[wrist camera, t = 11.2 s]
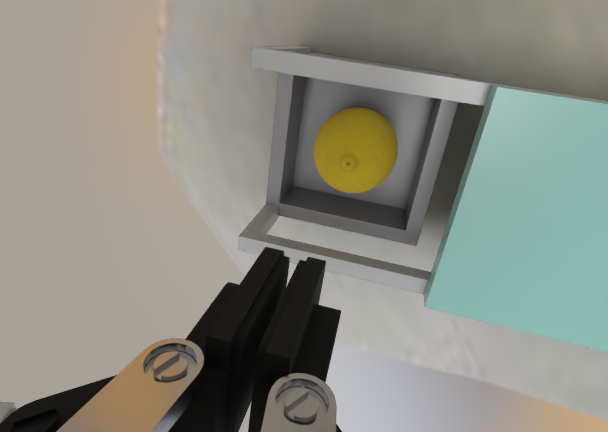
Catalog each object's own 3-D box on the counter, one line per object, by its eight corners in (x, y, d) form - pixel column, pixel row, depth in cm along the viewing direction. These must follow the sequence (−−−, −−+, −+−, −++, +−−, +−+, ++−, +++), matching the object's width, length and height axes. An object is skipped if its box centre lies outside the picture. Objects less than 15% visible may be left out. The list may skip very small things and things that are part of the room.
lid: (491, 84, 18) (507, 91, 15) (792, 131, 16) (870, 148, 14) (423, 295, 23) (426, 328, 20) (646, 348, 21) (681, 392, 19)
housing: (298, 45, 29) (251, 46, 20) (652, 99, 25) (789, 130, 16) (281, 195, 34) (237, 249, 25) (573, 257, 30) (644, 347, 21)
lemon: (352, 188, 31) (336, 225, 24) (312, 131, 30) (283, 151, 23) (413, 149, 29) (416, 177, 22) (371, 86, 28) (360, 94, 21)
